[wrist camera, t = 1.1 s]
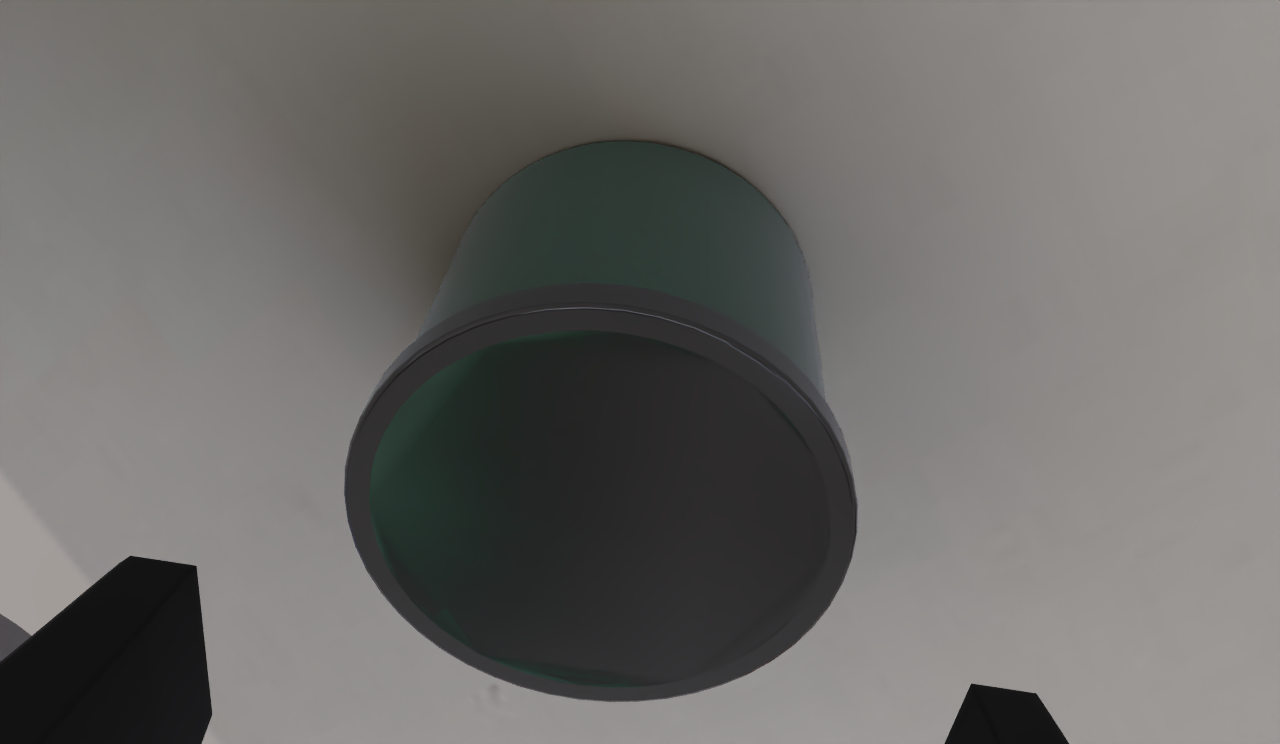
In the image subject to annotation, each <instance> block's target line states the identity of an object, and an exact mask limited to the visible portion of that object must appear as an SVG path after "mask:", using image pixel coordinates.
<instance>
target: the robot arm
mask: <svg viewBox="0 0 1280 744" xmlns="http://www.w3.org/2000/svg"><path fill="white" fill-rule="evenodd" d="M211 716H212V708H211V698H210V689H209V680H208V670H207V661H206V651H205V642H204V633H203V623H202V614H201V604H200V595H199V586H198V576H197V567H196V566H194V565H187V564H181V563H174V562H168V561H161V560H154V559H148V558H141V557H135V556H129V557H128V558H126V559H125V560H123V561H122V562H120V563H119V564H118V565H117V566H115V567H114V568H113V569H112V570H111V571H109V572H108V573H107V574H106V575H104V576H103V577H102V578H101V579H100V580H98V581H97V582H96V583H95V584H94V585H92V586H91V587H90V588H89V589H88V590H86V591H85V592H84V593H83V594H82V595H80V596H79V597H78V598H77V599H76V600H75V601H73V602H72V603H71V604H70V605H68V606H67V607H66V608H65V609H64V610H63V611H62V612H60V613H59V614H58V615H56V616H55V617H54V618H53V619H52V620H51V621H49V622H48V623H47V624H46V625H45V626H43V627H42V628H41V629H40V630H39V631H37V632H36V633H35V634H34V635H33V636H31V637H30V638H29V639H28V640H26V641H25V642H24V643H23V644H21V645H20V646H19V647H18V648H17V649H15V650H14V651H13V652H12V653H10V654H9V655H8V656H7V657H6V658H4V659H3V660H2V661H1V662H0V744H201V743H202V741H203V738H204V735H205V732H206V730H207V727H208V724H209V722H210V719H211ZM945 744H1069V743H1068V741H1067V740H1066V738H1065V737H1064V735H1063V733H1062V732H1061V730H1060V729H1059V727H1058V726H1057V724H1056V723H1055V721H1054V719H1053V718H1052V716H1051V715H1050V713H1049V712H1048V710H1047V709H1046V707H1045V706H1044V704H1043V703H1042V701H1041V700H1040V698H1039V697H1038V695H1037V694H1036V693H1030V692H1023V691H1016V690H1010V689H1003V688H997V687H990V686H983V685H977V684H971V686H970V688H969V690H968V692H967V694H966V697H965V699H964V701H963V703H962V706H961V708H960V710H959V712H958V715H957V717H956V719H955V721H954V724H953V726H952V728H951V730H950V733H949V735H948V737H947V739H946V742H945Z"/></svg>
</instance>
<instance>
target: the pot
mask: <svg viewBox="0 0 1280 744" xmlns="http://www.w3.org/2000/svg"><path fill="white" fill-rule="evenodd" d="M344 496H345V503H346V511H347V518H348V523H349V526H350V530H351V533H352V536H353V540H354V543H355V546H356V548H357V551H358V553H359V555H360V557H361V559H362V561H363V563H364V565H365V568H366V570H367V571H368V573H369V574H370V576H371V578H372V579H373V581H374V582H375V584H376V585H377V587H378V588H379V590H380V591H381V593H382V594H383V595H384V596H385V598H386V599H387V600H388V601H389V602H390V603H391V605H392V606H393V607H394V608H395V609H396V611H397V612H398V613H399V614H400V615H401V616H402V617H403V618H404V619H405V620H406V621H408V622H409V623H410V624H411V625H412V626H413V627H414V628H415V629H416V630H417V631H418V632H419V633H421V634H422V635H423V636H425V637H426V638H427V639H429V640H430V641H431V642H433V643H434V644H435V645H437V646H438V647H439V648H441V649H442V650H444V651H445V652H447V653H449V654H450V655H452V656H454V657H455V658H457V659H459V660H461V661H462V662H464V663H466V664H467V665H469V666H472V667H474V668H476V669H478V670H480V671H482V672H484V673H486V674H488V675H491V676H493V677H495V678H498V679H501V680H503V681H506V682H509V683H512V684H515V685H517V686H520V687H523V688H527V689H531V690H535V691H539V692H542V693H546V694H550V695H556V696H562V697H568V698H574V699H580V700H593V701H605V702H638V701H648V700H658V699H667V698H673V697H678V696H683V695H688V694H693V693H697V692H700V691H704V690H707V689H710V688H714V687H717V686H720V685H723V684H726V683H728V682H730V681H733V680H735V679H737V678H740V677H742V676H745V675H747V674H749V673H751V672H753V671H755V670H756V669H758V668H760V667H762V666H763V665H765V664H767V663H769V662H771V661H772V660H774V659H775V658H776V657H778V656H779V655H781V654H782V653H783V652H785V651H786V650H787V649H789V648H790V647H792V646H793V645H794V644H795V643H796V642H797V641H798V640H800V639H801V638H802V637H803V636H804V635H805V634H806V633H807V632H808V631H809V630H810V629H811V628H812V627H813V626H814V625H815V624H816V622H817V621H818V620H819V619H820V617H821V616H822V615H823V613H824V612H825V611H826V610H827V608H828V607H829V606H830V604H831V602H832V601H833V599H834V597H835V595H836V594H837V592H838V590H839V588H840V586H841V585H842V583H843V581H844V578H845V575H846V573H847V570H848V567H849V565H850V562H851V559H852V556H853V551H854V546H855V540H856V535H857V512H858V504H857V498H856V491H855V484H854V478H853V471H852V465H851V459H850V455H849V452H848V449H847V446H846V443H845V440H844V437H843V434H842V431H841V429H840V427H839V425H838V423H837V421H836V419H835V417H834V415H833V413H832V411H831V410H830V408H829V406H828V404H827V403H826V399H825V391H824V383H823V375H822V367H821V359H820V351H819V344H818V336H817V328H816V320H815V312H814V304H813V296H812V290H811V283H810V277H809V272H808V269H807V266H806V263H805V260H804V257H803V253H802V251H801V249H800V247H799V245H798V243H797V241H796V239H795V237H794V235H793V233H792V231H791V230H790V228H789V227H788V225H787V224H786V222H785V221H784V219H783V218H782V216H781V215H780V214H779V212H778V211H777V210H776V209H775V208H774V207H773V206H772V205H771V203H770V202H769V201H768V200H767V199H766V198H765V197H764V196H763V195H762V194H761V193H760V192H758V191H757V190H756V189H755V188H754V187H753V186H751V185H750V184H749V183H748V182H747V181H745V180H744V179H743V178H741V177H739V176H738V175H736V174H735V173H733V172H732V171H730V170H728V169H727V168H725V167H724V166H722V165H720V164H717V163H715V162H713V161H711V160H709V159H707V158H705V157H702V156H700V155H697V154H694V153H691V152H688V151H685V150H682V149H679V148H676V147H670V146H665V145H660V144H654V143H647V142H631V141H617V142H601V143H594V144H589V145H584V146H579V147H574V148H571V149H568V150H565V151H561V152H558V153H555V154H552V155H550V156H548V157H546V158H543V159H541V160H539V161H537V162H535V163H533V164H531V165H529V166H527V167H526V168H524V169H523V170H521V171H520V172H518V173H517V174H515V175H514V176H512V177H511V178H509V179H508V180H507V181H506V182H505V183H504V184H503V185H502V186H500V187H499V188H498V189H497V190H496V191H495V192H494V193H493V194H492V195H491V196H490V197H489V198H488V199H487V201H486V202H485V203H484V204H483V205H482V207H481V208H480V209H479V210H478V211H477V213H476V215H475V216H474V218H473V220H472V221H471V223H470V225H469V226H468V228H467V230H466V232H465V234H464V236H463V238H462V240H461V242H460V245H459V247H458V249H457V251H456V253H455V256H454V258H453V260H452V262H451V264H450V267H449V269H448V271H447V273H446V275H445V278H444V280H443V282H442V284H441V286H440V289H439V291H438V293H437V295H436V297H435V299H434V302H433V304H432V306H431V308H430V310H429V313H428V315H427V317H426V319H425V321H424V324H423V326H422V328H421V330H420V332H419V335H418V337H417V339H416V341H415V342H413V343H412V344H411V345H410V346H409V347H408V348H406V349H405V350H404V351H403V352H402V353H401V354H400V355H399V357H398V358H397V359H396V360H395V361H394V362H393V364H392V365H391V366H390V367H389V368H388V369H387V371H386V372H385V373H384V374H383V376H382V378H381V379H380V381H379V383H378V384H377V386H376V388H375V389H374V391H373V392H372V394H371V396H370V398H369V400H368V402H367V404H366V406H365V408H364V410H363V412H362V414H361V416H360V419H359V421H358V424H357V426H356V429H355V431H354V434H353V436H352V439H351V441H350V446H349V451H348V456H347V460H346V465H345V484H344Z"/></svg>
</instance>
